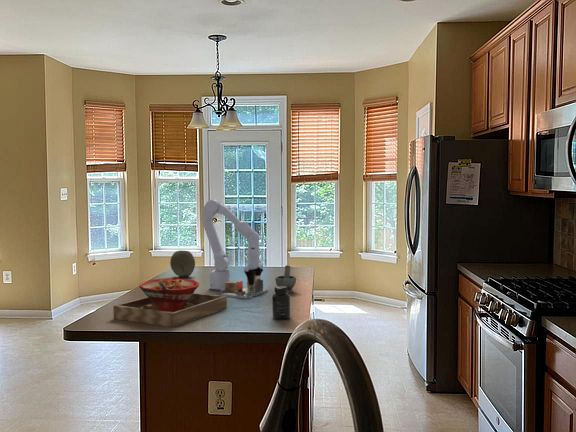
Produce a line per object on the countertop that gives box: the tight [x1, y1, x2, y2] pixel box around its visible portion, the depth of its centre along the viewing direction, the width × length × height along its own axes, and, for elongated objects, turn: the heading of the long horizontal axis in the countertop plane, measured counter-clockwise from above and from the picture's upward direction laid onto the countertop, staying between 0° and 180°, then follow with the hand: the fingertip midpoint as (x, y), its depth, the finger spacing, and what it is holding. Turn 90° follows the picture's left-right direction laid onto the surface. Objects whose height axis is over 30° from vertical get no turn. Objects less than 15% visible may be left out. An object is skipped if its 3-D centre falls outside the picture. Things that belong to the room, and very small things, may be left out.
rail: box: [219, 290, 253, 300], centre depth 246 cm, size 15×3×2 cm, turn 62°
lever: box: [235, 280, 245, 295], centre depth 245 cm, size 4×3×6 cm
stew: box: [139, 277, 200, 312], centre depth 213 cm, size 28×24×16 cm
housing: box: [246, 275, 262, 288], centre depth 266 cm, size 5×4×6 cm
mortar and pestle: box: [275, 265, 297, 294], centre depth 257 cm, size 11×9×12 cm
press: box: [233, 278, 268, 297], centre depth 254 cm, size 11×12×7 cm
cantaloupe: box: [169, 250, 196, 278], centre depth 301 cm, size 14×14×15 cm
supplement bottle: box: [271, 285, 291, 321], centre depth 205 cm, size 7×7×12 cm
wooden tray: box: [112, 292, 228, 328], centre depth 215 cm, size 29×33×5 cm
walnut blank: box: [225, 280, 237, 294], centre depth 256 cm, size 5×4×5 cm
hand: (253, 283), depth 266 cm, fingers closed on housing, 4 cm apart
